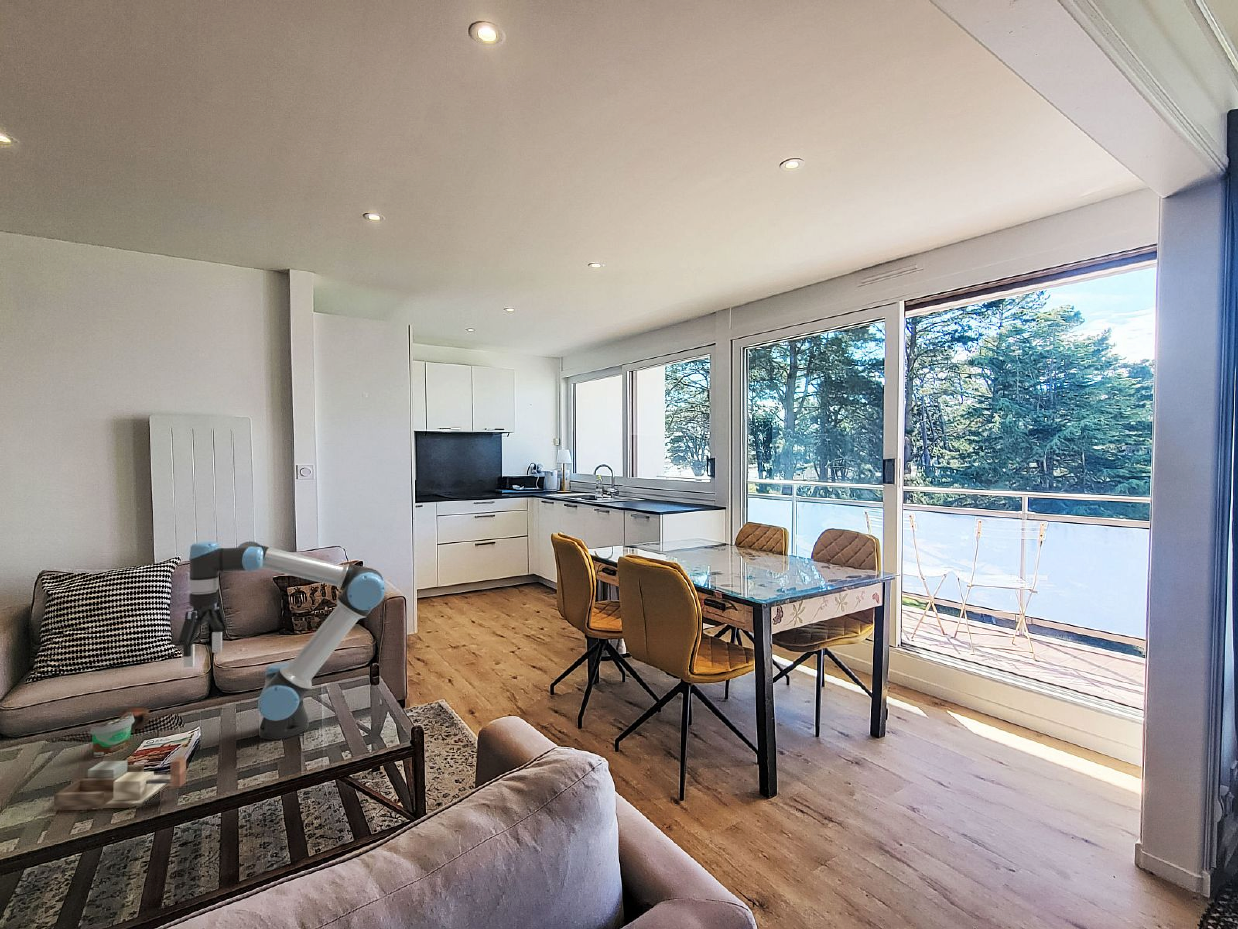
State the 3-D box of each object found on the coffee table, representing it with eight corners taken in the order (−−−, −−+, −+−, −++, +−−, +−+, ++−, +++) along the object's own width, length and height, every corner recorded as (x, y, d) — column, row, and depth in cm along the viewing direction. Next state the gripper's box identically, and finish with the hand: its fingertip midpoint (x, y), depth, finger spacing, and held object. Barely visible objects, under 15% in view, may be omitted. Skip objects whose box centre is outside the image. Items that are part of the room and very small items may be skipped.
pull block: (188, 788, 166) (189, 754, 166) (176, 798, 161) (176, 763, 161) (127, 790, 165) (128, 756, 165) (113, 800, 160) (113, 765, 160)
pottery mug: (106, 736, 201) (113, 711, 205) (133, 738, 209) (139, 713, 213) (134, 731, 199) (140, 705, 203) (160, 732, 207) (166, 707, 211)
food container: (104, 761, 183) (105, 729, 183) (89, 759, 184) (89, 727, 184) (144, 743, 195) (144, 713, 195) (129, 741, 196) (129, 711, 196)
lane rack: (179, 778, 174) (179, 757, 174) (139, 808, 158) (139, 785, 158) (101, 779, 173) (101, 758, 173) (53, 810, 157) (54, 787, 157)
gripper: (216, 583, 197) (216, 647, 197) (163, 600, 172) (162, 673, 172) (239, 583, 197) (239, 646, 197) (189, 600, 172) (189, 672, 172)
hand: (203, 659), depth 185 cm, fingers open, 13 cm apart
